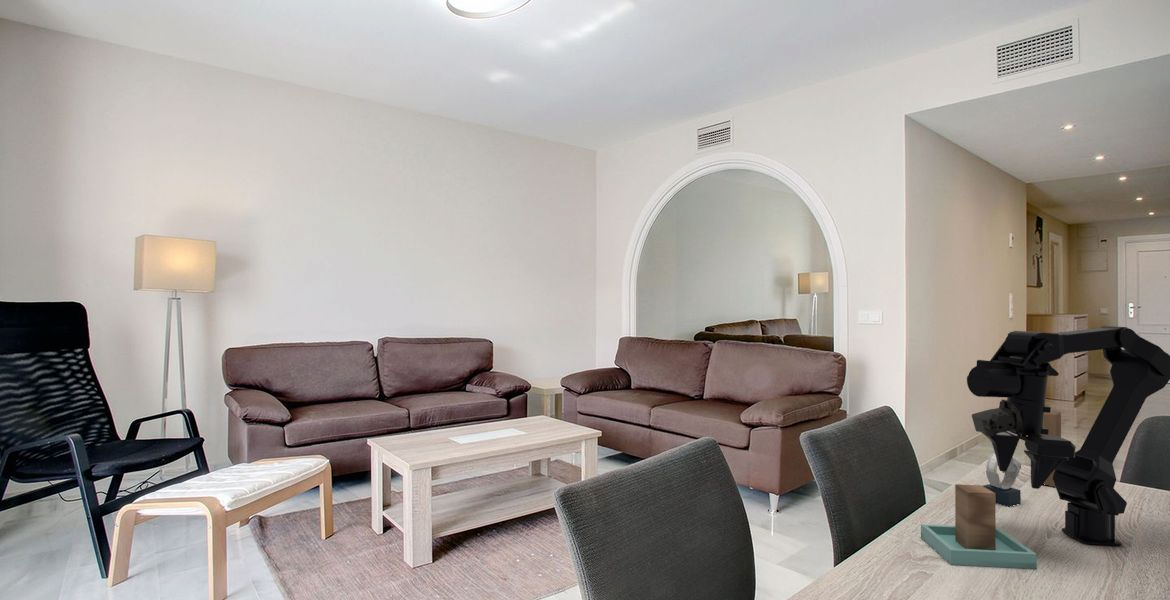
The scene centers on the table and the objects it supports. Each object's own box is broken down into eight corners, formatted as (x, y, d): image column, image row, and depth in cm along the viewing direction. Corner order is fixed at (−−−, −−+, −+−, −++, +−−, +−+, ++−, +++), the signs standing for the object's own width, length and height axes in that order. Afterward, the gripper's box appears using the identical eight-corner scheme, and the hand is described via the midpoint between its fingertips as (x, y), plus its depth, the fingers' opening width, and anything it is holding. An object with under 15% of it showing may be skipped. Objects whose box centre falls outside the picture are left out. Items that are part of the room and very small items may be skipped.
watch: (1025, 502, 130) (1025, 453, 130) (1003, 508, 127) (1003, 458, 127) (999, 495, 136) (999, 448, 136) (977, 500, 132) (977, 451, 132)
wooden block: (1085, 489, 140) (1085, 414, 140) (1081, 493, 137) (1080, 416, 137) (1038, 480, 147) (1038, 408, 147) (1033, 483, 144) (1033, 411, 144)
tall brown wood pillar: (981, 542, 107) (981, 485, 107) (995, 552, 103) (995, 493, 103) (955, 540, 108) (955, 484, 108) (968, 551, 103) (968, 492, 103)
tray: (997, 540, 110) (997, 527, 110) (1036, 569, 99) (1036, 554, 99) (920, 537, 112) (920, 524, 112) (950, 564, 100) (950, 550, 100)
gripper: (953, 385, 119) (947, 460, 120) (1013, 406, 101) (1005, 494, 101) (1010, 389, 118) (1003, 464, 119) (1081, 410, 100) (1072, 499, 100)
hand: (1018, 479), depth 110 cm, fingers open, 9 cm apart
